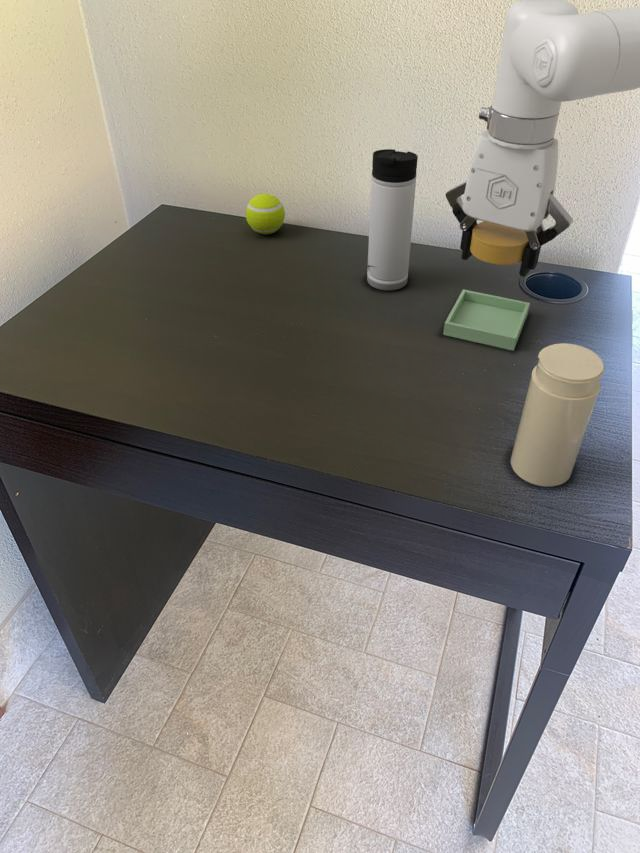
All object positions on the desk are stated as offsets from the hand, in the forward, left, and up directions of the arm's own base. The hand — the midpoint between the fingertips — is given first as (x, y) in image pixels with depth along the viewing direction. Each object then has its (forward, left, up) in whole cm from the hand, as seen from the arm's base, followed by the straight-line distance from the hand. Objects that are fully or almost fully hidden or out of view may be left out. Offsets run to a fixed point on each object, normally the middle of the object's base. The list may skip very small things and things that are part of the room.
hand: (496, 263), depth 90 cm
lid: (0, 0, +4) cm, 4 cm away
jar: (-12, +26, -10) cm, 30 cm away
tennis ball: (+42, -14, -10) cm, 45 cm away
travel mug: (+17, -6, -10) cm, 20 cm away
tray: (0, 0, -10) cm, 10 cm away
